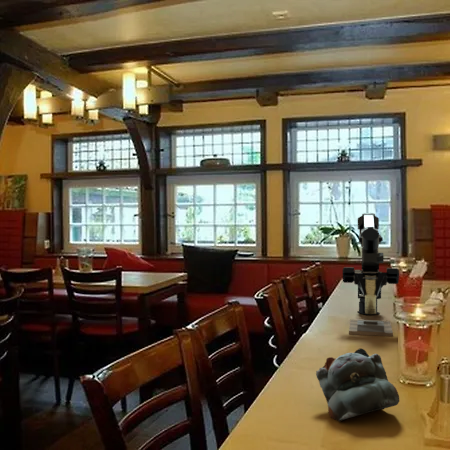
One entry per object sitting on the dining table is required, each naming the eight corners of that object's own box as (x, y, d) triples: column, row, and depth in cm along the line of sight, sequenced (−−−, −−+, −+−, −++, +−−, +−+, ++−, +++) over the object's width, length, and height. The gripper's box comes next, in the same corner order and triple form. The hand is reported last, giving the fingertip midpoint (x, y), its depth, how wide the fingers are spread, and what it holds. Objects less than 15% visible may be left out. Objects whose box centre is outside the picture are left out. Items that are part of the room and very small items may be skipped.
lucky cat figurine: (323, 424, 102) (306, 352, 108) (332, 427, 112) (315, 361, 118) (402, 407, 98) (379, 334, 105) (403, 411, 109) (383, 345, 115)
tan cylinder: (364, 311, 183) (364, 274, 182) (376, 312, 182) (376, 275, 181) (364, 313, 179) (364, 276, 179) (376, 314, 178) (376, 276, 178)
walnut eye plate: (350, 322, 197) (350, 313, 197) (389, 323, 193) (389, 315, 193) (349, 334, 177) (349, 325, 177) (393, 336, 174) (393, 327, 174)
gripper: (342, 244, 186) (341, 279, 175) (398, 244, 181) (400, 281, 171) (343, 264, 194) (342, 299, 183) (397, 265, 189) (399, 301, 179)
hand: (370, 295), depth 179 cm, fingers closed on tan cylinder, 4 cm apart
